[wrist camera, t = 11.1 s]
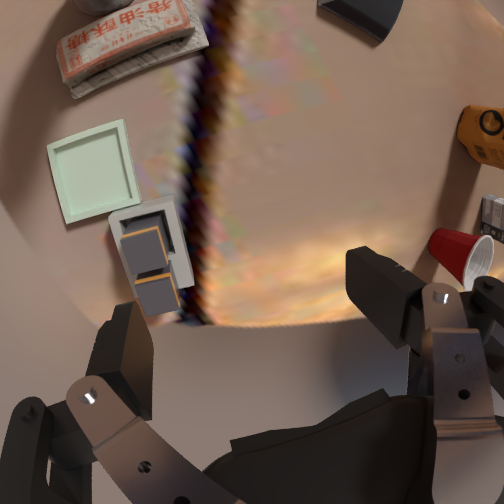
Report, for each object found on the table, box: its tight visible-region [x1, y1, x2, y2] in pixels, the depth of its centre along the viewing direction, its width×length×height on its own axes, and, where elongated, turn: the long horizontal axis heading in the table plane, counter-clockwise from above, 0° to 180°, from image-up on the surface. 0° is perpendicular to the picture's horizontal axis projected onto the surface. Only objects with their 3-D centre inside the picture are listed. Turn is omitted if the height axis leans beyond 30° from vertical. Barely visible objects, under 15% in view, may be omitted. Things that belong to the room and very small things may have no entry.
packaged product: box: [56, 0, 209, 100], centre depth 25 cm, size 18×5×10 cm
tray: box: [46, 119, 142, 224], centre depth 31 cm, size 11×11×2 cm
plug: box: [120, 211, 170, 275], centre depth 32 cm, size 4×4×8 cm
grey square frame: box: [108, 194, 194, 317], centre depth 33 cm, size 11×8×9 cm
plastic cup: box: [429, 228, 494, 291], centre depth 44 cm, size 11×11×12 cm
